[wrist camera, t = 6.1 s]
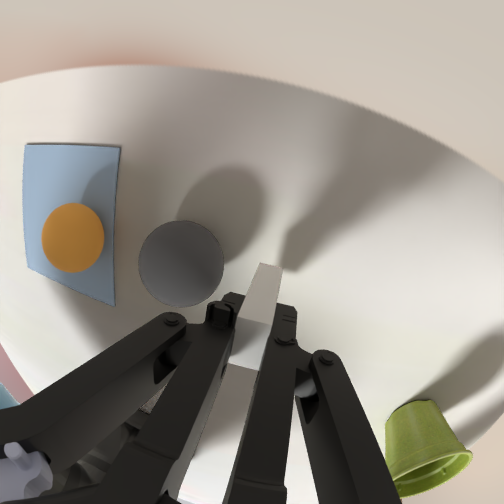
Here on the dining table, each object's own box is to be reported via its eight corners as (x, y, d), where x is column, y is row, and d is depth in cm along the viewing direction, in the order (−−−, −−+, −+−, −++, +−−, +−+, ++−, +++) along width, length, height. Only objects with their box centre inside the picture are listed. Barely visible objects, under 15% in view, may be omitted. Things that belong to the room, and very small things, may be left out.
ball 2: (116, 290, 14) (126, 252, 19) (190, 338, 17) (182, 294, 21) (180, 215, 14) (175, 195, 18) (252, 277, 16) (230, 243, 21)
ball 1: (63, 275, 15) (21, 255, 16) (105, 285, 20) (62, 268, 21) (89, 196, 16) (44, 188, 17) (124, 222, 22) (80, 211, 22)
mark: (120, 147, 19) (118, 147, 18) (115, 305, 23) (114, 306, 23) (26, 144, 20) (24, 145, 20) (28, 266, 25) (27, 267, 24)
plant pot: (456, 410, 21) (477, 465, 13) (388, 448, 24) (396, 504, 16) (437, 372, 20) (466, 440, 12) (355, 418, 23) (361, 489, 15)
